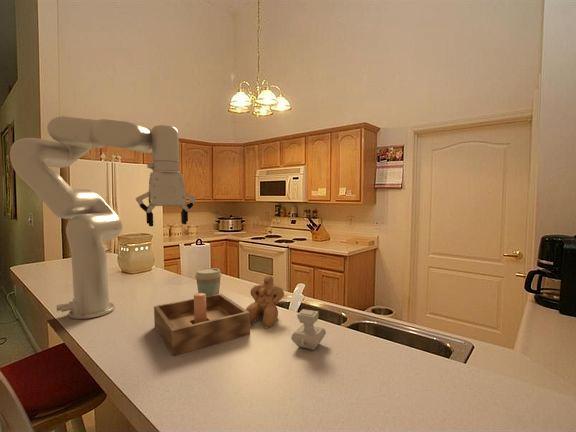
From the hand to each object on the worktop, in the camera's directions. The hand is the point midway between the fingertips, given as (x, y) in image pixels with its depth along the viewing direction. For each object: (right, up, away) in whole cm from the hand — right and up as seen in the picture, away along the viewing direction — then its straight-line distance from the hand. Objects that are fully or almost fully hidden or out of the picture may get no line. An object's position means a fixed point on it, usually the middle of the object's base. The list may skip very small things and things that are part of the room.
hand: (167, 225), depth 97 cm
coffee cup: (+10, -28, +11) cm, 31 cm away
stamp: (+42, -29, -18) cm, 54 cm away
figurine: (+29, -28, -2) cm, 41 cm away
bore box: (+12, -29, -9) cm, 33 cm away
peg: (+12, -29, -9) cm, 33 cm away
